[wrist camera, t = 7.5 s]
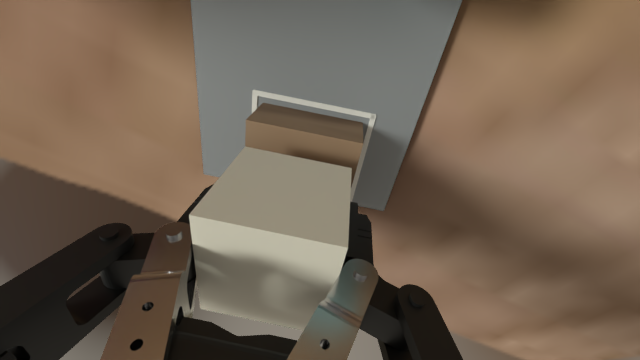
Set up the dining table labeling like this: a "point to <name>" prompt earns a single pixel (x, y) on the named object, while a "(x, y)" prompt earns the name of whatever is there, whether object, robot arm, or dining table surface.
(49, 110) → the dining table surface
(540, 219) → the dining table surface
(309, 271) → the cream cube
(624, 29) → the dining table surface
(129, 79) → the dining table surface
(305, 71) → the board
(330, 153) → the walnut base
